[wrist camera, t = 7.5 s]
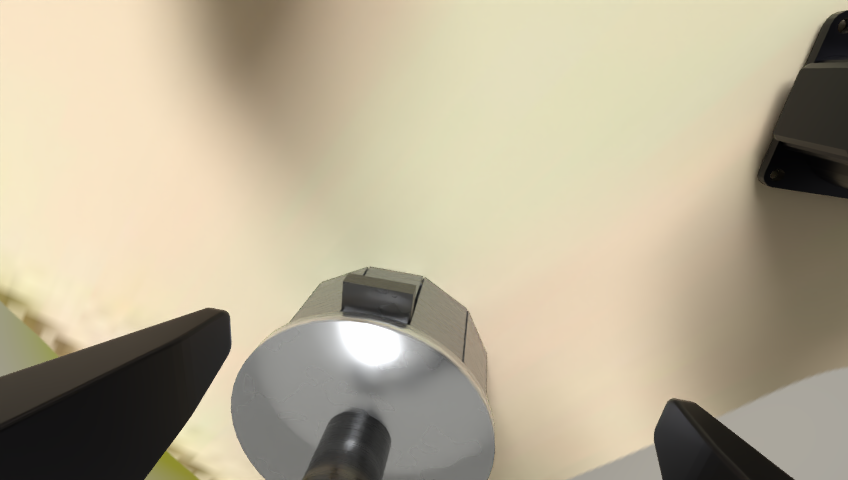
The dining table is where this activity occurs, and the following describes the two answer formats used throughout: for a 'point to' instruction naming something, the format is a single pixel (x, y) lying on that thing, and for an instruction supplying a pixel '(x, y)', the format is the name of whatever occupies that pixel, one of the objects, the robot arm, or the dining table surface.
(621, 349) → the dining table surface
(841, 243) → the dining table surface
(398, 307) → the grey low hollow cylinder
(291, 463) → the lid
